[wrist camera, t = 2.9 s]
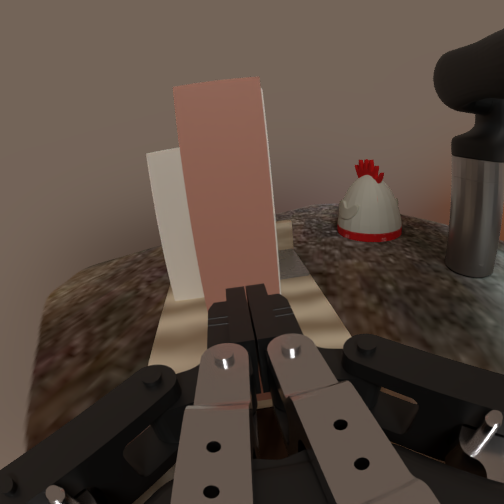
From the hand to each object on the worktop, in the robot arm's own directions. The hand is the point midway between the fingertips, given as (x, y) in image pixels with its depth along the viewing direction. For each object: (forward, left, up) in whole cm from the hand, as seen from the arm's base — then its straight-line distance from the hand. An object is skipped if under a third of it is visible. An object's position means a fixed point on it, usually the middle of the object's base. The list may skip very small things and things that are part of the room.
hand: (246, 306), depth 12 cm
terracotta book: (-10, -10, -12) cm, 19 cm away
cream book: (-17, -26, -12) cm, 33 cm away
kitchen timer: (-51, -11, -14) cm, 54 cm away
